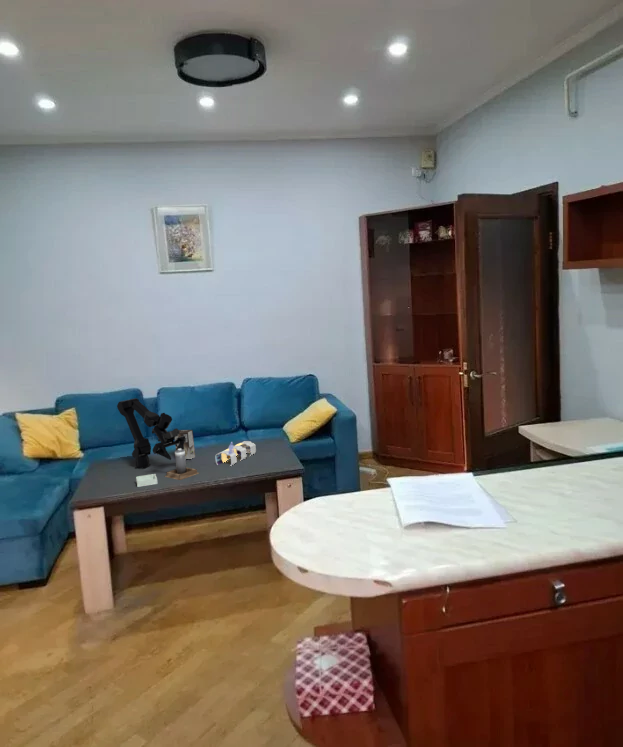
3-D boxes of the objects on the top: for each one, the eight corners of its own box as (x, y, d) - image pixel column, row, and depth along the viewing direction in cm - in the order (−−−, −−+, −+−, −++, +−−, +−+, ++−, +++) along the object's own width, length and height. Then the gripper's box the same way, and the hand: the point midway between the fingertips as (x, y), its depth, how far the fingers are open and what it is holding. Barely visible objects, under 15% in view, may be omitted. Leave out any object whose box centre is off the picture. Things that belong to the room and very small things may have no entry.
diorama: (231, 467, 318) (229, 443, 316) (216, 466, 322) (214, 442, 321) (256, 454, 340) (254, 432, 338) (241, 453, 345) (239, 431, 343)
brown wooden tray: (164, 477, 307) (163, 472, 307) (183, 470, 317) (183, 465, 317) (180, 481, 299) (179, 476, 298) (200, 473, 309) (199, 469, 308)
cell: (175, 476, 306) (172, 450, 304) (179, 473, 311) (176, 447, 309) (184, 476, 305) (182, 450, 303) (188, 473, 310) (186, 447, 308)
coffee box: (195, 456, 343) (193, 429, 341) (190, 460, 337) (188, 432, 335) (181, 456, 345) (178, 429, 343) (176, 459, 339) (173, 432, 337)
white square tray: (136, 482, 301) (135, 476, 301) (155, 479, 304) (155, 473, 304) (137, 487, 292) (137, 482, 292) (157, 484, 295) (157, 478, 295)
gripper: (153, 428, 302) (169, 452, 296) (182, 421, 316) (198, 443, 311) (145, 442, 308) (161, 465, 302) (174, 434, 322) (189, 456, 317)
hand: (177, 457), depth 308 cm, fingers open, 9 cm apart
